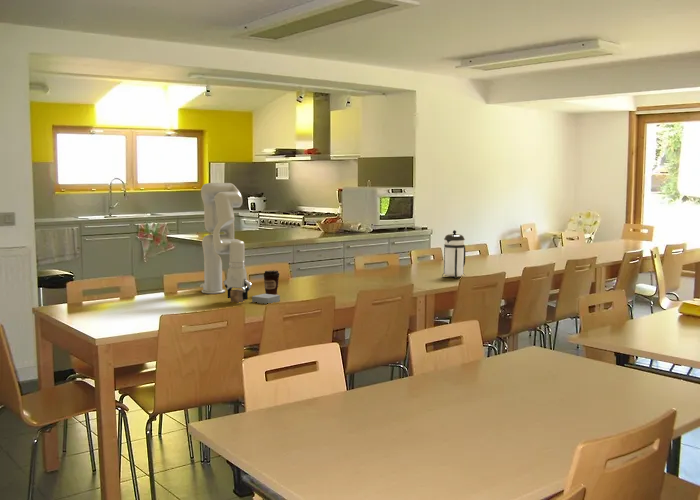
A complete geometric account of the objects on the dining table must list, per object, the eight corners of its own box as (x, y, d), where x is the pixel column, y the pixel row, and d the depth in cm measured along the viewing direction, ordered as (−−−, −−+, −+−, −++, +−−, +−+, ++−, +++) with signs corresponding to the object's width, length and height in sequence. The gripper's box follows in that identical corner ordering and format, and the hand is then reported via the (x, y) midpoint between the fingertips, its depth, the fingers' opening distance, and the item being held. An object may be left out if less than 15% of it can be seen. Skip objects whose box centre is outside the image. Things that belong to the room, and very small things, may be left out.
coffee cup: (276, 296, 380) (276, 272, 378) (261, 295, 381) (261, 271, 380) (281, 293, 388) (281, 270, 387) (266, 293, 390) (266, 269, 388)
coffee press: (468, 279, 448) (469, 231, 444) (443, 278, 448) (444, 231, 445) (464, 275, 465) (465, 229, 462) (440, 275, 465) (441, 228, 462)
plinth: (252, 302, 363) (252, 296, 362) (264, 299, 371) (264, 293, 371) (268, 304, 358) (268, 298, 357) (279, 301, 366) (279, 295, 366)
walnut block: (230, 302, 363) (230, 290, 362) (236, 300, 367) (236, 289, 366) (238, 303, 360) (238, 291, 359) (244, 301, 364) (244, 290, 364)
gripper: (219, 264, 363) (219, 298, 364) (246, 267, 354) (246, 301, 356) (228, 263, 369) (229, 296, 371) (255, 265, 360) (255, 299, 362)
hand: (237, 298), depth 363 cm, fingers open, 9 cm apart
